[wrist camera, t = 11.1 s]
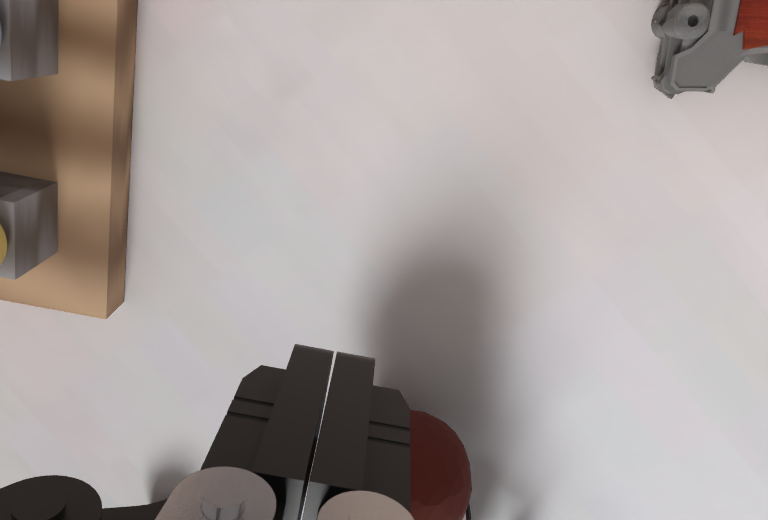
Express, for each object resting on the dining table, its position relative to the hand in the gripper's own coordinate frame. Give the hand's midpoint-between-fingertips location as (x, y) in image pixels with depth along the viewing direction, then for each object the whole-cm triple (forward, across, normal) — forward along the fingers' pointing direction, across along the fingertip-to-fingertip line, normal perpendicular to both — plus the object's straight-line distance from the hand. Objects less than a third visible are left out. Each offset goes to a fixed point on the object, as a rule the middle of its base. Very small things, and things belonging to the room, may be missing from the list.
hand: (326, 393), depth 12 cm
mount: (+33, +23, +4) cm, 40 cm away
